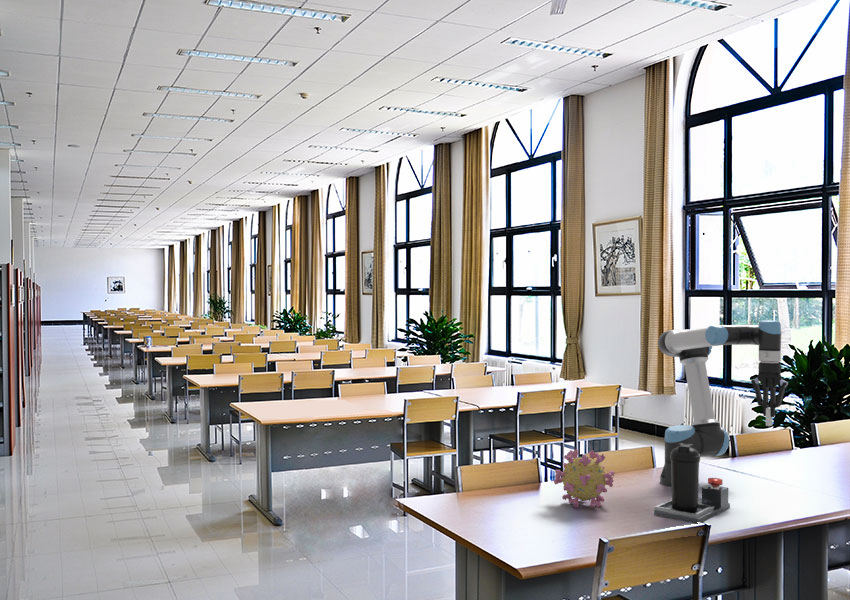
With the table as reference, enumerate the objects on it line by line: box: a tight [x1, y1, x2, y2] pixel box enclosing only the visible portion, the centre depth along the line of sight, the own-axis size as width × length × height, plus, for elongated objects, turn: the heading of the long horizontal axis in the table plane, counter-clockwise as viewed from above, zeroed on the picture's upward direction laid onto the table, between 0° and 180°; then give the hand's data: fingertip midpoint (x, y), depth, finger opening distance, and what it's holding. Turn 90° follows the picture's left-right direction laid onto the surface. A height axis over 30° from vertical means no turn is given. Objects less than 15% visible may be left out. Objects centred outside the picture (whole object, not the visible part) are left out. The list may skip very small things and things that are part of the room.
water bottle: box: [670, 443, 701, 513], centre depth 271 cm, size 10×10×23 cm
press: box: [653, 484, 731, 524], centre depth 275 cm, size 16×28×8 cm, turn 138°
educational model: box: [552, 448, 616, 509], centre depth 281 cm, size 23×22×20 cm
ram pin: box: [707, 477, 723, 490], centre depth 279 cm, size 5×5×8 cm
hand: (769, 425), depth 284 cm, fingers closed
